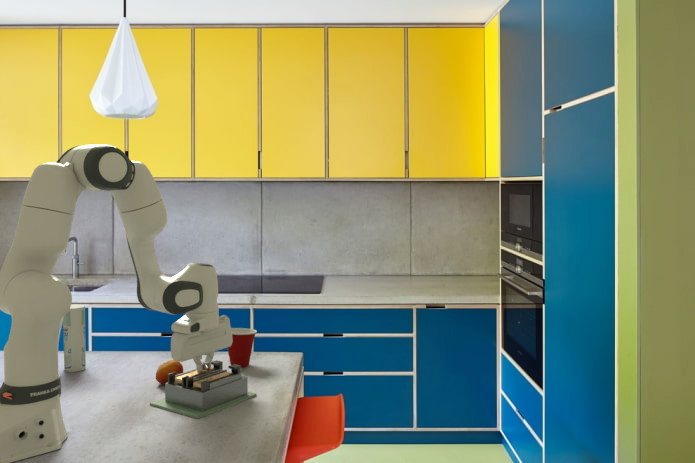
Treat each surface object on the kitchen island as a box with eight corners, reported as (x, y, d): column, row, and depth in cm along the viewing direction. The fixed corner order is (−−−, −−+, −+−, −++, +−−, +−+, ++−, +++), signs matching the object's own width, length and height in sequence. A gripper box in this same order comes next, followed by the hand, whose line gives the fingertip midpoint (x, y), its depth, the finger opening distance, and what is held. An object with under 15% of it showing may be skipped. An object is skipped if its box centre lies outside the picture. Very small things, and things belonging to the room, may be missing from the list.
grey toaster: (202, 412, 165) (202, 381, 165) (165, 401, 173) (164, 372, 172) (247, 394, 179) (247, 366, 179) (211, 385, 187) (211, 358, 186)
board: (197, 419, 162) (197, 416, 162) (150, 405, 172) (150, 402, 172) (256, 395, 180) (256, 393, 180) (210, 384, 190) (210, 382, 190)
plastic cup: (264, 364, 212) (263, 328, 211) (241, 372, 203) (241, 334, 202) (239, 359, 218) (239, 324, 217) (216, 366, 209) (216, 330, 208)
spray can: (88, 369, 204) (87, 307, 202) (66, 373, 200) (64, 309, 199) (83, 365, 209) (82, 304, 208) (62, 368, 206) (60, 305, 204)
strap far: (182, 383, 171) (181, 379, 171) (174, 381, 172) (174, 377, 172) (214, 371, 181) (214, 367, 181) (207, 369, 182) (207, 366, 182)
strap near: (200, 388, 167) (200, 384, 167) (193, 386, 169) (193, 382, 169) (233, 376, 177) (233, 373, 177) (225, 375, 179) (225, 371, 179)
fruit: (182, 384, 186) (168, 359, 186) (160, 396, 187) (147, 372, 188) (194, 376, 193) (181, 352, 194) (173, 387, 195) (160, 364, 195)
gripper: (221, 312, 188) (222, 358, 190) (166, 326, 171) (167, 377, 173) (237, 314, 185) (238, 362, 186) (182, 329, 168) (184, 381, 169)
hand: (203, 369), depth 179 cm, fingers closed
